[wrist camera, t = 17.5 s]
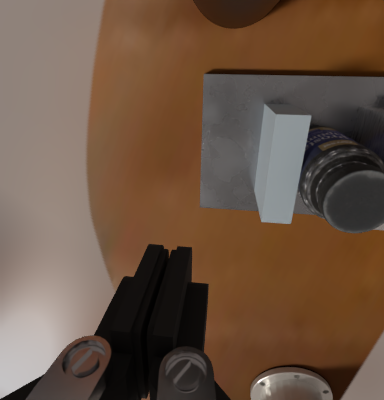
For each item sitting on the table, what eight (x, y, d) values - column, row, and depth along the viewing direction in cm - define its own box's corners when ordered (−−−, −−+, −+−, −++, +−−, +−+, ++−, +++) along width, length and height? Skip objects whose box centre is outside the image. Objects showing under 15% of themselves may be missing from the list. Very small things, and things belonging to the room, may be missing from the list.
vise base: (366, 214, 31) (408, 257, 24) (200, 203, 33) (193, 240, 26) (410, 77, 25) (484, 80, 18) (204, 73, 27) (196, 75, 20)
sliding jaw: (277, 191, 30) (290, 223, 24) (254, 190, 30) (261, 221, 24) (291, 104, 26) (311, 115, 20) (264, 103, 27) (276, 114, 20)
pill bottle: (328, 112, 26) (389, 137, 16) (358, 161, 28) (430, 212, 18) (271, 150, 28) (294, 194, 18) (302, 194, 30) (339, 256, 20)
